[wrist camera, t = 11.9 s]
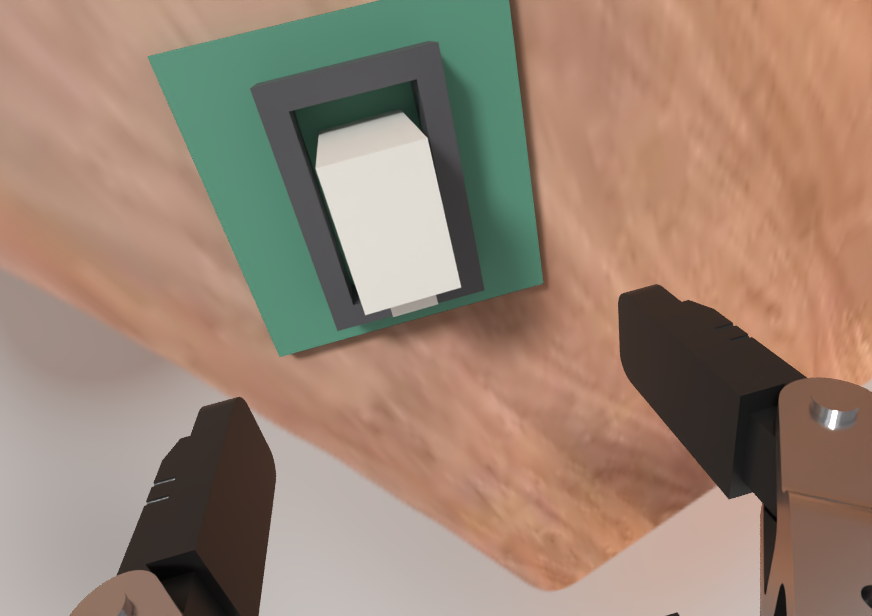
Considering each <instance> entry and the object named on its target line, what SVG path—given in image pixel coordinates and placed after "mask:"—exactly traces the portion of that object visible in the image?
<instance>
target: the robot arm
mask: <svg viewBox="0 0 872 616" xmlns="http://www.w3.org/2000/svg"><path fill="white" fill-rule="evenodd" d="M618 313H619V341H620V357H621V362H622V366H623V368H624V371H625V373H626V375H627V377H628V379H629V380H630V382H631V383H632V384H633V386H634V387H635V388H636V389H637V390H638V392H639V393H640V394H641V395H642V396H643V397H644V399H645V400H646V401H647V402H648V403H649V405H650V406H651V407H652V408H653V409H654V411H655V412H656V413H657V414H658V415H659V417H660V418H661V419H662V420H663V421H664V422H665V424H666V425H667V426H668V427H669V428H670V430H671V431H672V432H673V433H674V434H675V436H676V437H677V438H678V439H679V440H680V442H681V443H682V444H683V445H684V446H685V448H686V449H687V450H688V451H689V452H690V453H691V455H692V456H693V457H694V458H695V459H696V461H697V462H698V463H699V464H700V465H701V467H702V468H703V469H704V470H705V471H706V473H707V474H708V475H709V476H710V477H711V479H712V480H713V481H714V482H715V483H716V484H717V486H718V487H719V488H720V489H721V490H722V491H723V493H724V494H725V495H726V496H727V497H728V499H731V498H735V497H739V496H742V495H745V494H748V493H752V492H753V493H755V495H756V496H757V497H758V498H759V499H760V501H761V502H762V507H761V514H760V523H761V524H760V527H761V528H760V537H761V538H760V616H872V392H870V391H869V390H867V389H865V388H863V387H861V386H858V385H856V384H853V383H850V382H846V381H842V380H837V379H831V378H807V377H805V376H804V375H803V374H801V373H800V372H799V371H797V370H796V369H795V368H793V367H792V366H790V365H789V364H788V363H786V362H785V361H784V360H782V359H781V358H780V357H778V356H777V355H776V354H774V353H773V352H771V351H770V350H769V349H767V348H766V347H765V346H763V345H762V344H761V343H759V342H758V341H757V340H755V339H754V338H752V337H751V338H749V336H748V334H747V333H746V332H744V331H743V330H742V329H740V328H739V327H738V326H733V323H732V322H731V321H729V320H728V319H727V318H725V317H724V316H723V315H721V314H720V313H719V312H717V311H716V310H715V309H712V308H709V307H707V306H704V305H701V304H698V303H696V302H693V301H690V300H687V301H683V302H681V301H680V300H678V299H677V298H676V297H675V296H673V295H672V294H671V293H670V292H668V291H667V290H666V289H664V288H663V287H662V286H660V285H657V284H655V285H652V286H648V287H644V288H641V289H637V290H633V291H630V292H626V293H623V294H621V295H620V297H619V301H618ZM275 483H276V470H275V464H274V459H273V456H272V453H271V451H270V448H269V446H268V444H267V443H266V440H265V438H264V436H263V434H262V432H261V430H260V428H259V426H258V425H257V423H256V420H255V418H254V416H253V414H252V413H251V411H250V409H249V407H248V405H247V403H246V402H245V400H244V399H243V398H241V397H237V398H233V399H229V400H226V401H222V402H218V403H215V404H211V405H207V406H204V407H202V408H201V409H200V411H199V413H198V416H197V419H196V421H195V424H194V427H193V430H192V433H191V436H188V437H184V438H181V439H180V440H179V441H178V442H177V443H176V445H175V446H174V447H173V448H172V449H171V451H170V452H169V453H168V455H167V456H166V457H165V458H164V459H163V460H162V463H161V465H160V468H159V471H158V473H157V476H156V478H155V480H154V487H152V488H151V491H150V493H149V495H148V498H147V501H146V502H147V505H146V506H144V508H143V511H142V513H141V516H140V519H139V521H138V523H137V526H136V528H135V531H134V533H133V536H132V538H131V541H130V543H129V546H128V548H127V551H126V553H125V556H124V558H123V561H122V563H121V566H120V568H119V571H118V573H117V576H116V577H113V578H111V579H110V580H108V581H106V582H105V583H103V584H102V585H100V586H99V587H97V588H96V589H95V590H93V591H92V592H91V593H90V594H89V595H87V596H86V597H85V598H84V599H83V600H82V601H81V602H80V603H79V605H78V606H77V607H76V608H75V609H74V610H73V611H72V613H71V614H70V616H258V615H259V606H260V599H261V592H262V583H263V576H264V567H265V560H266V553H267V545H268V537H269V530H270V522H271V514H272V507H273V499H274V490H275ZM667 616H679V614H678V613H674V614H670V615H667Z"/></svg>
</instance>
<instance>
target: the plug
mask: <svg viewBox="0 0 872 616" xmlns="http://www.w3.org/2000/svg"><path fill="white" fill-rule="evenodd" d="M316 171H317V174H318V177H319V180H320V183H321V186H322V189H323V192H324V195H325V198H326V201H327V204H328V207H329V210H330V213H331V216H332V219H333V221H334V224H335V227H336V230H337V233H338V236H339V239H340V242H341V245H342V248H343V251H344V254H345V257H346V260H347V263H348V266H349V268H350V271H351V274H352V277H353V280H354V283H355V286H356V289H357V292H358V295H359V298H360V301H361V304H362V307H363V310H364V313H365V315H368V314H371V313H375V312H378V311H381V310H385V309H388V308H391V312H392V315H393V317H396V316H399V315H403V314H406V313H409V312H413V311H416V310H420V309H423V308H427V307H430V306H434V305H437V304H438V301H437V297H436V295H437V294H440V293H444V292H447V291H451V290H454V289H458V288H461V284H460V280H459V275H458V271H457V267H456V262H455V258H454V253H453V249H452V244H451V240H450V236H449V231H448V227H447V222H446V218H445V213H444V209H443V205H442V200H441V196H440V191H439V187H438V182H437V178H436V174H435V169H434V165H433V160H432V156H431V151H430V147H429V143H428V138H427V137H426V136H425V135H424V134H423V133H422V132H421V131H420V130H419V129H418V128H417V127H416V125H415V124H414V123H413V122H412V121H411V120H410V119H409V118H408V117H407V116H406V115H405V114H404V113H403V112H402V111H401V110H400V109H398V110H394V111H390V112H386V113H383V114H379V115H375V116H371V117H368V118H364V119H360V120H357V121H353V122H349V123H345V124H342V125H338V126H334V127H331V128H327V129H323V130H319V136H318V147H317V158H316Z"/></svg>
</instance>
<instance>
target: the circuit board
mask: <svg viewBox="0 0 872 616" xmlns="http://www.w3.org/2000/svg"><path fill="white" fill-rule="evenodd" d="M147 57H148V59H149V61H150V63H151V66H152V68H153V70H154V72H155V75H156V77H157V79H158V82H159V84H160V86H161V88H162V91H163V93H164V95H165V97H166V100H167V102H168V104H169V107H170V109H171V111H172V113H173V116H174V118H175V120H176V122H177V125H178V127H179V129H180V132H181V134H182V136H183V138H184V141H185V143H186V145H187V147H188V150H189V152H190V154H191V157H192V159H193V161H194V163H195V166H196V168H197V170H198V172H199V175H200V177H201V179H202V182H203V184H204V186H205V188H206V191H207V193H208V195H209V197H210V200H211V202H212V204H213V207H214V209H215V211H216V213H217V216H218V218H219V220H220V222H221V225H222V227H223V229H224V232H225V234H226V236H227V238H228V241H229V243H230V245H231V247H232V250H233V252H234V254H235V257H236V259H237V261H238V263H239V266H240V268H241V270H242V272H243V275H244V277H245V279H246V282H247V284H248V286H249V288H250V291H251V293H252V295H253V297H254V300H255V302H256V304H257V307H258V309H259V311H260V313H261V316H262V318H263V320H264V322H265V325H266V327H267V329H268V332H269V334H270V336H271V338H272V341H273V343H274V345H275V347H276V350H277V352H278V354H279V357H282V356H285V355H289V354H292V353H296V352H300V351H303V350H307V349H310V348H314V347H318V346H321V345H325V344H328V343H332V342H335V341H339V340H343V339H346V338H350V337H353V336H357V335H361V334H364V333H368V332H371V331H375V330H379V329H382V328H386V327H389V326H393V325H396V324H400V323H404V322H407V321H411V320H414V319H418V318H422V317H425V316H429V315H432V314H436V313H440V312H443V311H447V310H450V309H454V308H457V307H461V306H465V305H468V304H472V303H475V302H479V301H483V300H486V299H490V298H493V297H497V296H501V295H504V294H508V293H511V292H515V291H518V290H522V289H526V288H529V287H533V286H536V285H540V284H543V276H542V268H541V260H540V251H539V243H538V235H537V227H536V219H535V210H534V202H533V194H532V186H531V177H530V169H529V161H528V153H527V144H526V136H525V128H524V120H523V111H522V103H521V95H520V87H519V78H518V70H517V62H516V54H515V45H514V37H513V29H512V21H511V12H510V4H509V0H379V1H375V2H371V3H367V4H363V5H359V6H355V7H350V8H346V9H342V10H338V11H334V12H330V13H325V14H321V15H317V16H313V17H309V18H305V19H301V20H296V21H292V22H288V23H284V24H280V25H276V26H272V27H267V28H263V29H259V30H255V31H251V32H247V33H243V34H238V35H234V36H230V37H226V38H222V39H218V40H213V41H209V42H205V43H201V44H197V45H193V46H189V47H184V48H180V49H176V50H172V51H168V52H164V53H160V54H155V55H151V56H147ZM398 109H400V110H401V111H402V112H403V113H404V114H405V115H406V116H407V117H408V118H409V119H410V120H411V121H412V122H413V123H414V124H415V125H416V127H417V128H418V129H419V130H420V131H421V132H422V133H423V134H424V135H425V136H426V137H427V138H428V143H429V147H430V151H431V156H432V160H433V165H434V169H435V174H436V178H437V182H438V187H439V191H440V196H441V200H442V205H443V209H444V213H445V218H446V222H447V227H448V231H449V236H450V240H451V244H452V249H453V253H454V258H455V262H456V267H457V271H458V275H459V280H460V284H461V288H458V289H454V290H451V291H447V292H444V293H440V294H437V295H436V297H437V301H438V304H437V305H434V306H430V307H427V308H423V309H420V310H416V311H413V312H409V313H406V314H403V315H399V316H396V317H393V315H392V312H391V308H388V309H385V310H381V311H378V312H375V313H371V314H368V315H365V313H364V310H363V307H362V304H361V301H360V298H359V295H358V292H357V289H356V286H355V283H354V280H353V277H352V274H351V271H350V268H349V266H348V263H347V260H346V257H345V254H344V251H343V248H342V245H341V242H340V239H339V236H338V233H337V230H336V227H335V224H334V221H333V219H332V216H331V213H330V210H329V207H328V204H327V201H326V198H325V195H324V192H323V189H322V186H321V183H320V180H319V177H318V174H317V171H316V158H317V147H318V136H319V130H323V129H327V128H331V127H334V126H338V125H342V124H345V123H349V122H353V121H357V120H360V119H364V118H368V117H371V116H375V115H379V114H383V113H386V112H390V111H394V110H398Z"/></svg>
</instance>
